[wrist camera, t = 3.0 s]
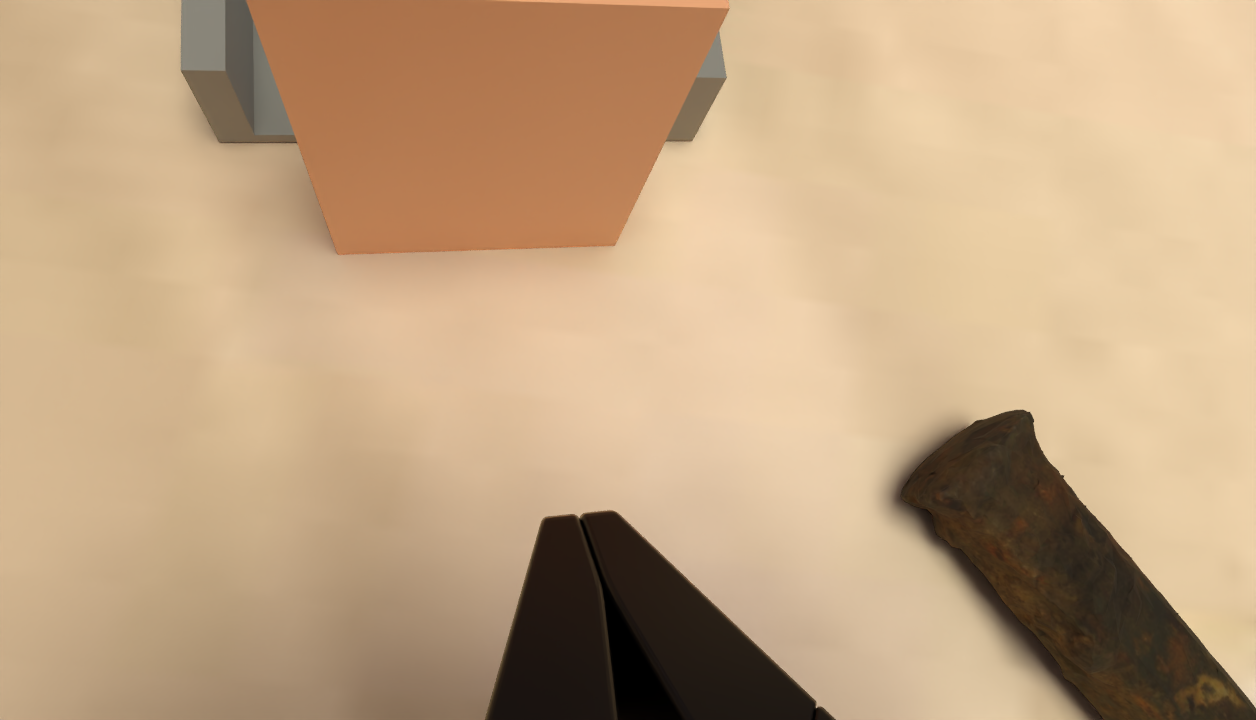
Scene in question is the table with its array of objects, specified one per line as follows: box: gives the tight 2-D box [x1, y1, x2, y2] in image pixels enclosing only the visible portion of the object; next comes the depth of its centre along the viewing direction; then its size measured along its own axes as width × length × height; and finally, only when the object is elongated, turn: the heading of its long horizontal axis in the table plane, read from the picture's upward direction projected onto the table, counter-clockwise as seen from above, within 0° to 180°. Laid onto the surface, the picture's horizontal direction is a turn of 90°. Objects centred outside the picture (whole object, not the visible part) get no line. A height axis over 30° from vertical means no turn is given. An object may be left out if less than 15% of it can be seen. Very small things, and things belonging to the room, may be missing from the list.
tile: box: [246, 0, 730, 255], centre depth 19 cm, size 3×8×11 cm, turn 97°
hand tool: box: [901, 410, 1256, 720], centre depth 23 cm, size 19×4×5 cm, turn 37°
